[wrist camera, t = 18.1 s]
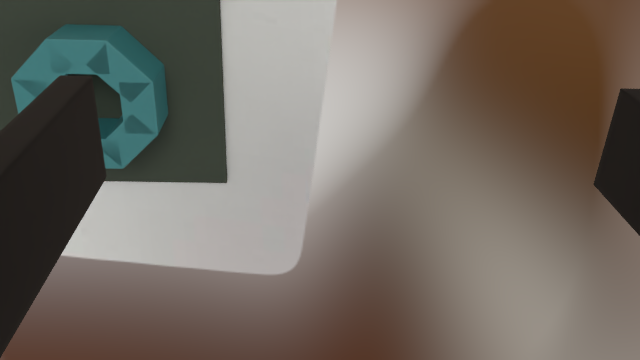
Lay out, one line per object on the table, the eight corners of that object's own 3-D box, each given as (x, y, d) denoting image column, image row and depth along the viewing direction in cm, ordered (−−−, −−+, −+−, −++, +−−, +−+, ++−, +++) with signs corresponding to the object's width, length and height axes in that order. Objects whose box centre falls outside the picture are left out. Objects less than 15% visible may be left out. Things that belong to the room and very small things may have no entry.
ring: (161, 26, 44) (149, 41, 40) (171, 146, 49) (161, 169, 45) (25, 22, 44) (1, 37, 40) (48, 144, 48) (29, 167, 45)
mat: (218, -19, 43) (218, -18, 43) (227, 180, 51) (226, 183, 50) (-43, -27, 42) (-46, -26, 42) (5, 177, 50) (3, 179, 49)
